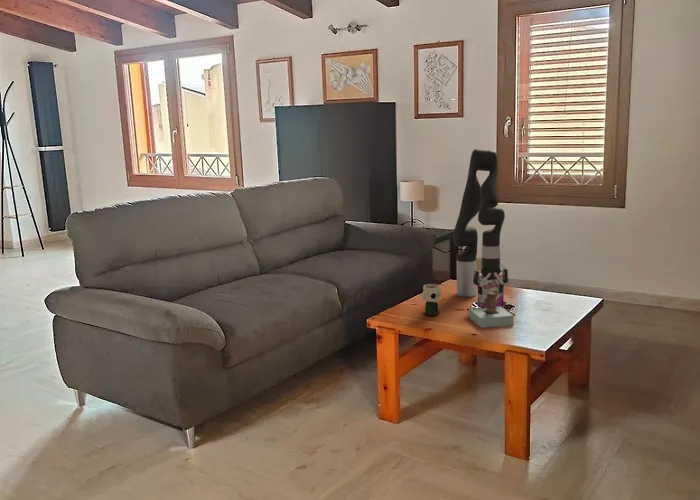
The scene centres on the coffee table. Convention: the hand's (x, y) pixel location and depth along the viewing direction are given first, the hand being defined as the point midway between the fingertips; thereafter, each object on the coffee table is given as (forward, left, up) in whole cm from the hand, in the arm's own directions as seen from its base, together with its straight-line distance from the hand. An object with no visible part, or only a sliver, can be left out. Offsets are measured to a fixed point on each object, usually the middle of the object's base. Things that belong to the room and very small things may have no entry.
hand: (490, 293), depth 273 cm
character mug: (-16, -21, -12) cm, 29 cm away
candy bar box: (-16, +6, -12) cm, 21 cm away
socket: (0, 0, -12) cm, 12 cm away
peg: (0, 0, -12) cm, 12 cm away
